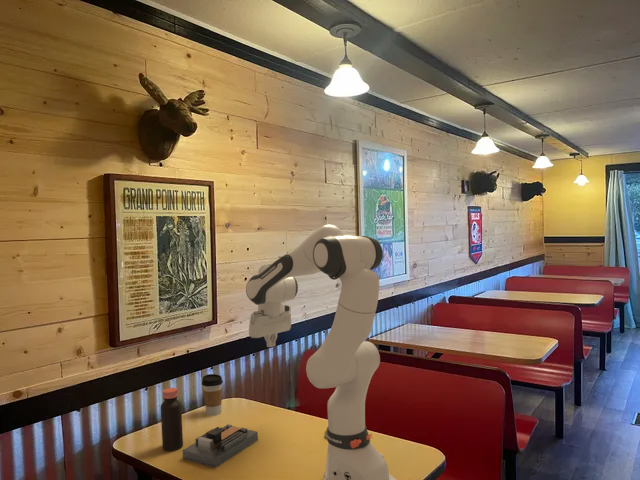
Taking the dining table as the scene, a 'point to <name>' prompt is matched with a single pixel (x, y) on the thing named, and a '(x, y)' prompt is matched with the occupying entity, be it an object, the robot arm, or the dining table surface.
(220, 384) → the coffee cup
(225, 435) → the brown and black bar
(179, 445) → the bottle
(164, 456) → the dining table surface
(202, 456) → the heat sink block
